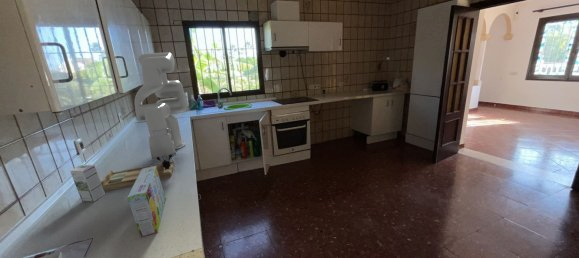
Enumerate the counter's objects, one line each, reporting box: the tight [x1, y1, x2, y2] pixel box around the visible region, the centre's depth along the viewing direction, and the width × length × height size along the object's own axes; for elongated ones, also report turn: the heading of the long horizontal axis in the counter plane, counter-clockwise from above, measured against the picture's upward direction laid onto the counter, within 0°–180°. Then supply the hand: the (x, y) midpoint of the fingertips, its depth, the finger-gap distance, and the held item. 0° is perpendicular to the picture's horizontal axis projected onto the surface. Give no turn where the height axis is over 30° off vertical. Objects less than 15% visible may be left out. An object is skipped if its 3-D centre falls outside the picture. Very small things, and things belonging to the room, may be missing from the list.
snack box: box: [126, 166, 167, 238], centre depth 82 cm, size 21×6×15 cm, turn 21°
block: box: [149, 162, 164, 174], centre depth 113 cm, size 5×5×4 cm
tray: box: [100, 160, 175, 192], centre depth 114 cm, size 14×28×4 cm, turn 110°
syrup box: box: [69, 164, 106, 203], centre depth 97 cm, size 6×6×14 cm
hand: (167, 168), depth 114 cm, fingers closed
